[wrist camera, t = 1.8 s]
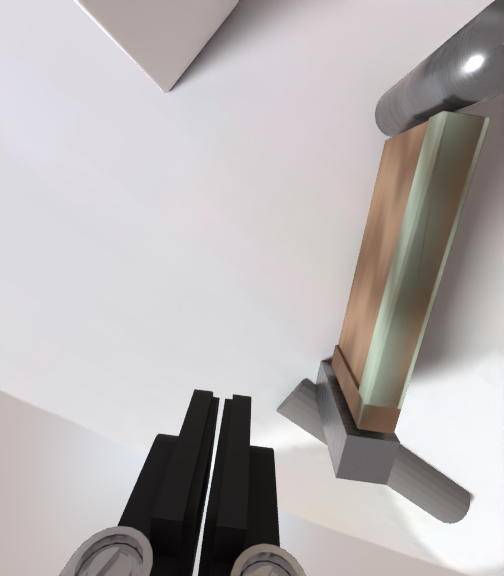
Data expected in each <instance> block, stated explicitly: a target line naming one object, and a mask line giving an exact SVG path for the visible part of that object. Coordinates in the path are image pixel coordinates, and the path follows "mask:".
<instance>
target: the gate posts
mask: <svg viewBox="0 0 504 576" xmlns="http://www.w3.org/2000/svg"><path fill="white" fill-rule="evenodd" d="M502 93H504V0H495V1H494V2H492V3H491V4H490V5H489V6H487V7H486V8H485V9H484V10H483V11H482V12H480V13H479V14H478V15H477V16H476V17H474V18H473V19H472V20H471V21H470V22H469V23H467V24H466V25H465V26H464V27H463V28H461V29H460V30H459V31H458V32H457V33H456V34H454V35H453V36H452V37H451V38H450V39H449V40H447V41H446V42H445V43H444V44H443V45H441V46H440V47H439V48H438V49H437V50H436V51H434V52H433V53H432V54H431V55H430V56H428V57H427V58H426V59H425V60H424V61H423V62H421V63H420V64H419V65H418V66H417V67H416V68H414V69H413V70H412V71H411V72H410V73H408V74H407V75H406V76H405V77H404V78H403V79H401V80H400V81H399V82H398V83H397V84H395V85H394V86H393V87H392V88H391V89H390V90H388V91H387V92H386V93H385V94H384V95H383V96H382V97H381V99H380V100H379V102H378V104H377V107H376V111H375V119H376V123H377V126H378V128H379V129H380V130H381V132H382V133H384V134H385V135H387V136H390V137H394V136H396V135H399V134H401V133H403V132H405V131H407V130H410V129H412V128H414V127H416V126H418V125H420V124H423V123H425V122H427V121H429V118H430V117H432V116H434V115H436V114H438V113H441V112H443V111H446V112H453V113H458V112H460V111H462V110H465V109H467V108H469V107H472V106H474V105H476V104H479V103H481V102H483V101H486V100H488V99H490V98H493V97H495V96H497V95H499V94H502ZM315 399H316V403H317V407H318V410H319V414H320V418H321V422H322V426H323V430H324V434H325V438H326V441H327V445H328V449H329V453H330V457H331V461H332V465H333V469H334V472H335V476H336V478H341V479H348V480H355V481H362V482H370V483H377V484H384V485H387V482H388V479H389V476H390V473H391V470H392V467H393V463H394V460H395V457H396V454H397V451H398V448H399V444H400V441H399V440H398V438H397V436H396V434H395V432H394V434H391V433H384V432H377V431H369V430H362V429H358V428H357V426H356V423H355V421H354V418H353V416H352V413H351V411H350V408H349V406H348V403H347V401H346V399H345V396H344V394H343V391H342V389H341V386H340V384H339V381H338V379H337V376H336V374H335V372H334V369H333V367H332V364H331V362H324V361H321V363H320V368H319V373H318V377H317V382H316V396H315Z"/></svg>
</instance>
